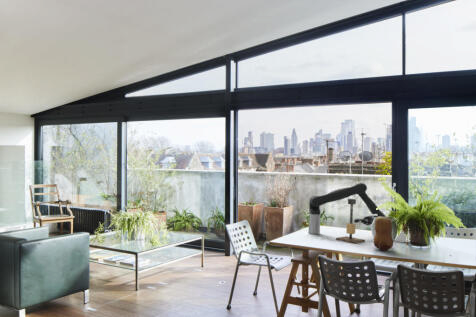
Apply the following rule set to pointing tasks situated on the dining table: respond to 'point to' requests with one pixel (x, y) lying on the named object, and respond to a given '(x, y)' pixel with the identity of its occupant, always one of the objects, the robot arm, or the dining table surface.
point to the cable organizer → (401, 237)
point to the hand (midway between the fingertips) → (359, 222)
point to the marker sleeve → (350, 228)
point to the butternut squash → (383, 233)
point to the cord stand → (350, 238)
